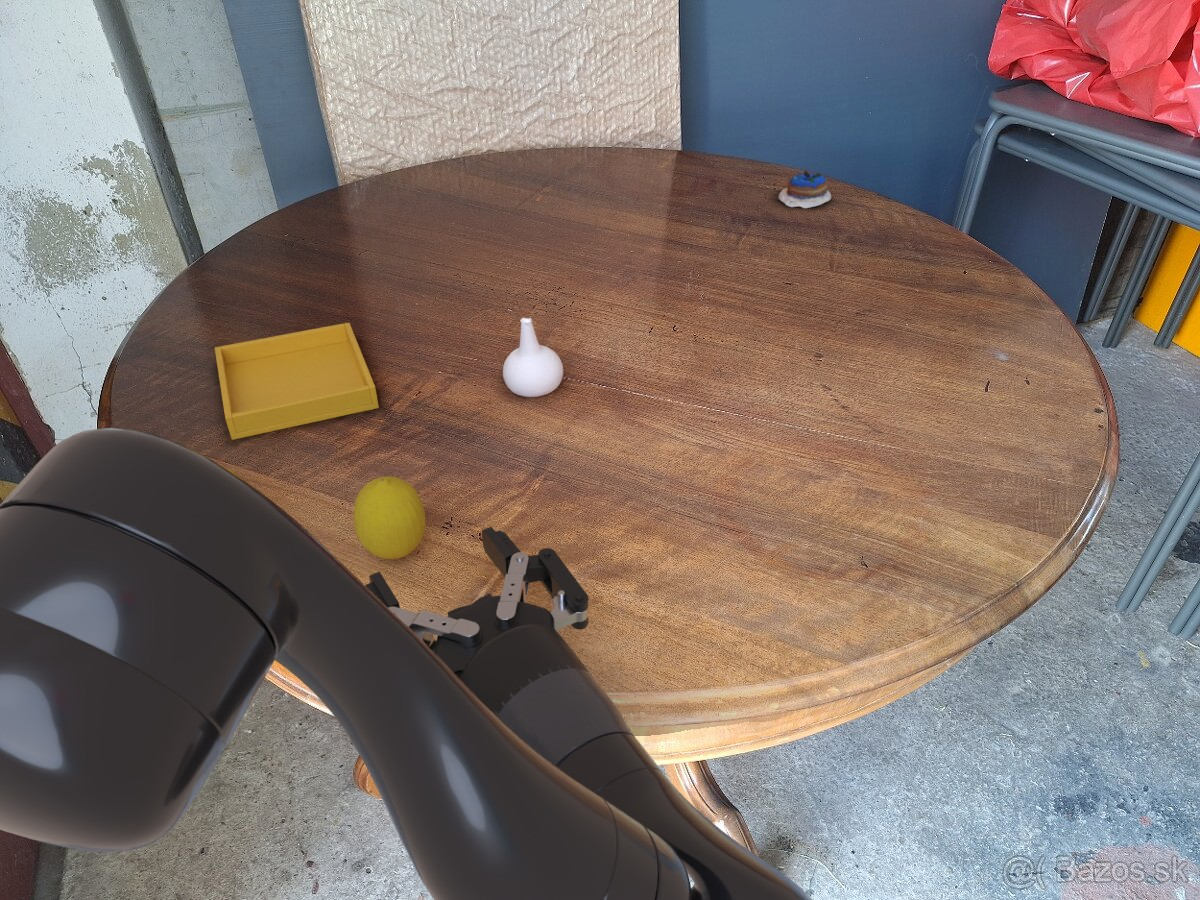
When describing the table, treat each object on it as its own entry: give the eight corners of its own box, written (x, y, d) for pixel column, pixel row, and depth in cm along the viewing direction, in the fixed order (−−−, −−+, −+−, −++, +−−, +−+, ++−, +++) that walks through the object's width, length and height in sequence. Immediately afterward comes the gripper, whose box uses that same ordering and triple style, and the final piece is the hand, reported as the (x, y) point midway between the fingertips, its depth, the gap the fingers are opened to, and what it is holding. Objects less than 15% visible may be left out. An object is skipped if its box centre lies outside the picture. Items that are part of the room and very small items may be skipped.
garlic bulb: (573, 377, 95) (572, 310, 90) (545, 407, 91) (542, 338, 86) (522, 363, 97) (518, 297, 93) (492, 392, 93) (486, 324, 88)
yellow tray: (231, 440, 86) (225, 418, 84) (220, 368, 96) (214, 347, 95) (379, 408, 90) (375, 386, 89) (353, 342, 101) (349, 322, 99)
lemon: (406, 523, 77) (394, 449, 72) (443, 556, 73) (433, 481, 68) (349, 553, 74) (332, 478, 69) (385, 589, 70) (369, 513, 65)
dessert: (818, 181, 139) (829, 158, 133) (830, 218, 137) (842, 197, 131) (769, 189, 138) (779, 166, 132) (780, 226, 136) (791, 205, 130)
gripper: (647, 628, 53) (517, 483, 64) (427, 739, 47) (324, 558, 58) (643, 706, 58) (522, 559, 69) (442, 817, 52) (344, 635, 63)
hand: (432, 558), depth 63 cm, fingers open, 8 cm apart
